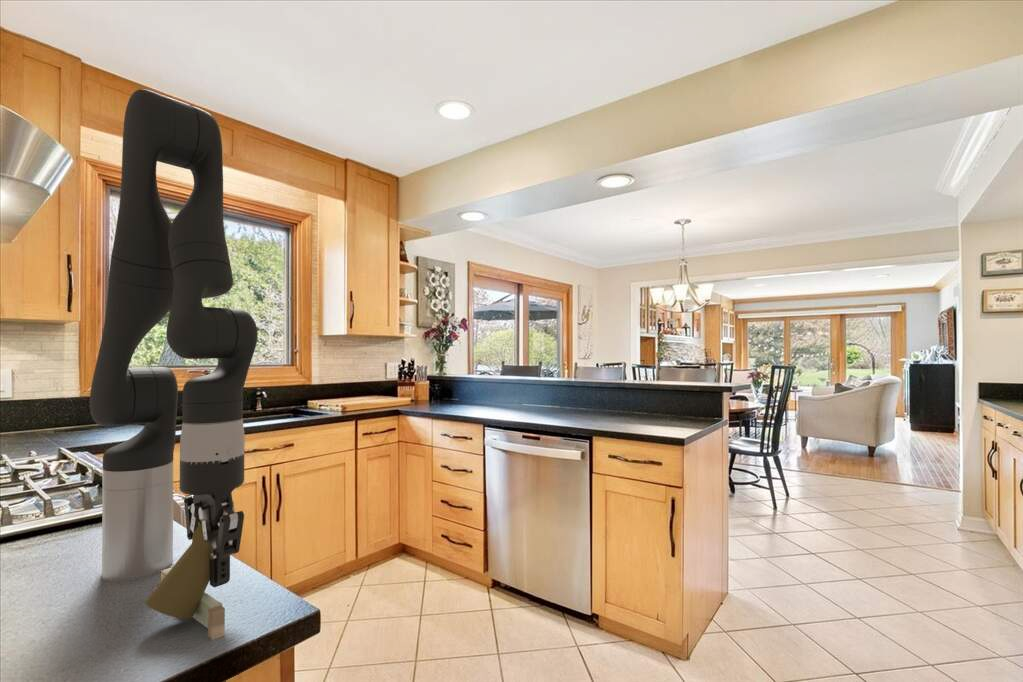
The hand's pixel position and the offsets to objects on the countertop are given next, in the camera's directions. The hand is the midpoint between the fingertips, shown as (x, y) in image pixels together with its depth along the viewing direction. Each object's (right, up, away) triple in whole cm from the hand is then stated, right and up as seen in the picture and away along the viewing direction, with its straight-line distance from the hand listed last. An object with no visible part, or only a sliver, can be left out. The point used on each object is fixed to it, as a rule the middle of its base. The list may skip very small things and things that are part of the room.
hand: (212, 578), depth 65 cm
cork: (-3, -2, -4) cm, 6 cm away
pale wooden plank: (-3, -5, 0) cm, 6 cm away
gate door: (-1, -5, -1) cm, 5 cm away
